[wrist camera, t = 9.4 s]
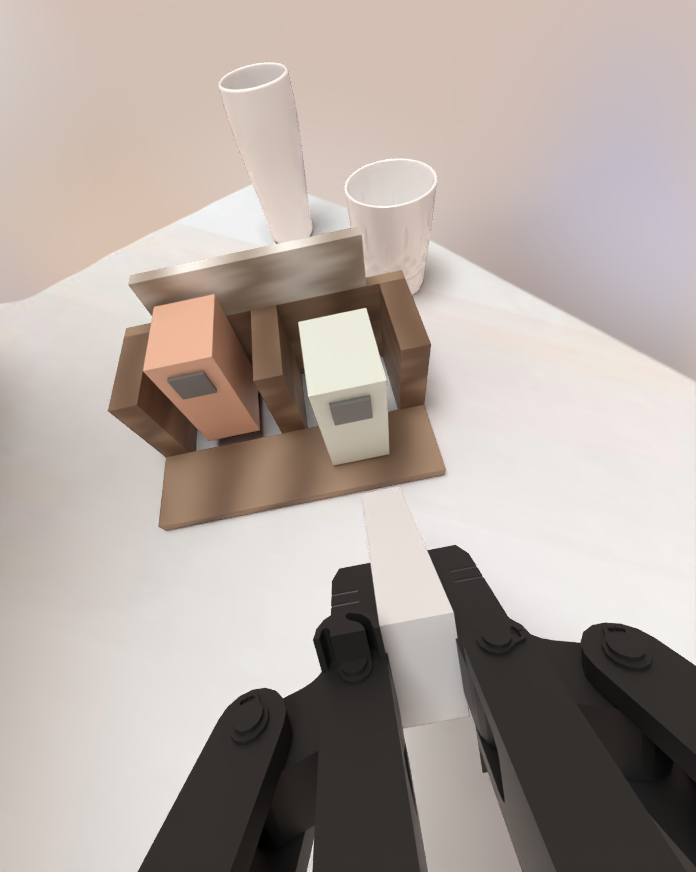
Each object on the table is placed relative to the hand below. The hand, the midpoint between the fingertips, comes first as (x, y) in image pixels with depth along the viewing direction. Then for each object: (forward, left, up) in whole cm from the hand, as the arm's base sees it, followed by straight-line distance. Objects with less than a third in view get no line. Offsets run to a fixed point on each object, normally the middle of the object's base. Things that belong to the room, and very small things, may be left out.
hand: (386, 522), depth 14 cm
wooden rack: (-7, +11, -12) cm, 18 cm away
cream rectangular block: (-2, +11, -11) cm, 16 cm away
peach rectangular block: (-13, +14, -11) cm, 22 cm away
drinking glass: (-10, +41, -13) cm, 44 cm away
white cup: (+2, +30, -13) cm, 33 cm away
